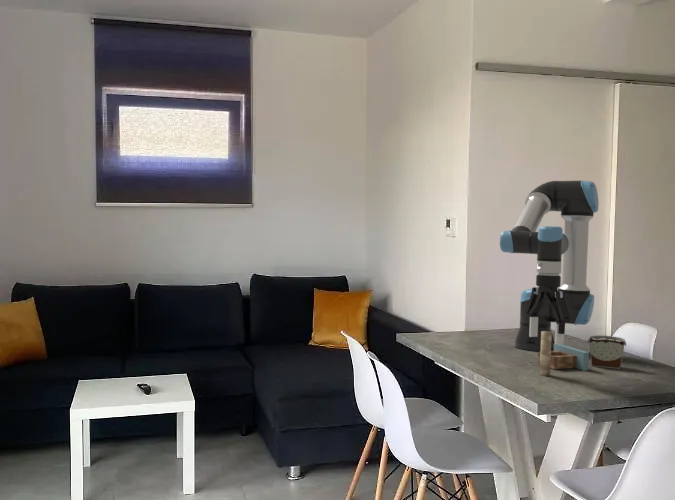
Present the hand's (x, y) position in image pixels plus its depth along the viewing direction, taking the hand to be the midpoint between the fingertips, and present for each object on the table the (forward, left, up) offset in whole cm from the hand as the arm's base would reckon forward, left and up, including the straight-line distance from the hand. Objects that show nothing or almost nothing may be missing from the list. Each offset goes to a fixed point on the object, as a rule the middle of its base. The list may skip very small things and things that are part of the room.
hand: (545, 340), depth 220 cm
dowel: (0, 0, -11) cm, 11 cm away
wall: (-18, -10, -11) cm, 23 cm away
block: (-12, -10, -11) cm, 20 cm away
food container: (-30, -7, -12) cm, 33 cm away
